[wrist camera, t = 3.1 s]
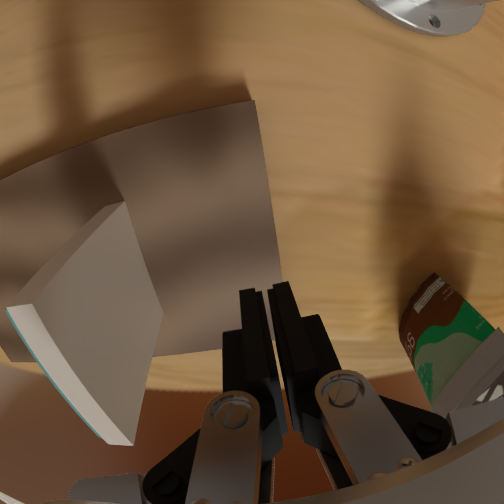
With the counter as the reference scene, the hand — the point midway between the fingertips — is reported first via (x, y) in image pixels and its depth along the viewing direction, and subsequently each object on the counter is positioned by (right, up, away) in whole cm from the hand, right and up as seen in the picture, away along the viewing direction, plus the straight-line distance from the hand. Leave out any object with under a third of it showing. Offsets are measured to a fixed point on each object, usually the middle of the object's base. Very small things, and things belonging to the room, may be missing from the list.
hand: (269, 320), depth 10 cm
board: (-11, +2, +7) cm, 13 cm away
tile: (-7, +2, +6) cm, 9 cm away
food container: (+13, -4, +12) cm, 18 cm away
